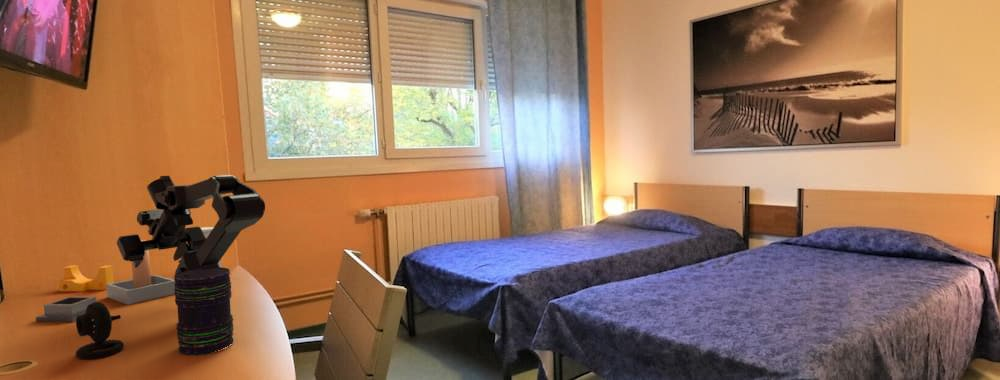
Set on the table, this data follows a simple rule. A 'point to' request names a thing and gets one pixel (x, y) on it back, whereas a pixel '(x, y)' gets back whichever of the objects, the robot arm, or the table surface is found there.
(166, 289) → the bin
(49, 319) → the stud base
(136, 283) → the tan rounded tapered piece
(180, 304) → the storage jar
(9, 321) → the table surface
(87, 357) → the webcam
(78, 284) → the pipe clamp
